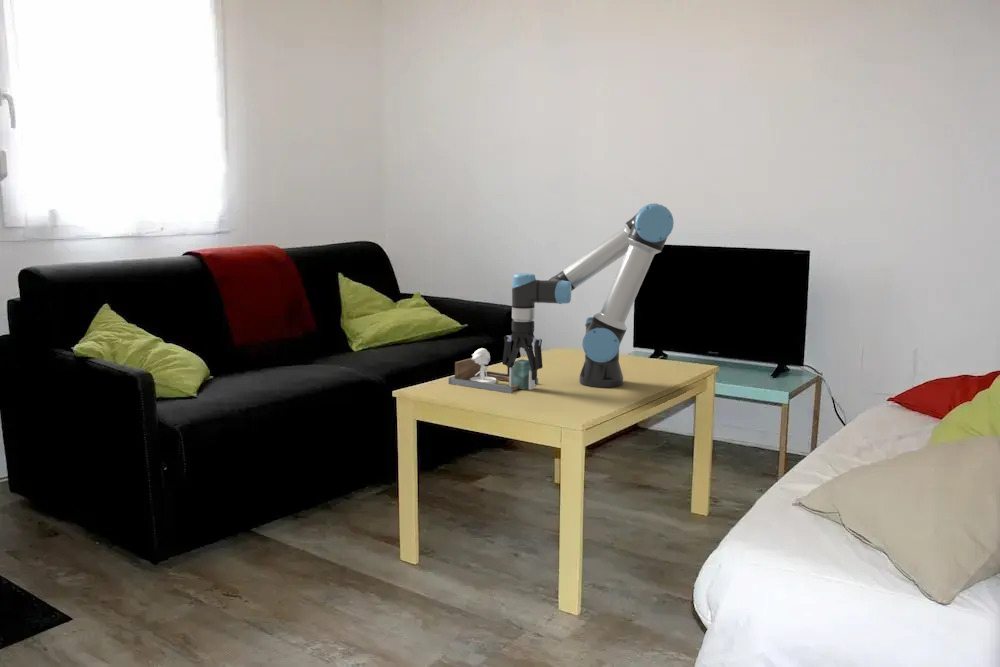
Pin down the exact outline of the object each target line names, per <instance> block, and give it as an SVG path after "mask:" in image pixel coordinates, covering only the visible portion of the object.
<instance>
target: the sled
mask: <svg viewBox="0 0 1000 667" xmlns="http://www.w3.org/2000/svg"><path fill="white" fill-rule="evenodd" d="M472 358H473V357H470V358H466V359H463V360H459V361H455V362H454V376H455V378H458V379H465V380H470V378H472V377H480V373H481V372H480V373H479V374H478V375H476V376H475V374H476V373H478V372H479V371H480V370H481V365H479V364H478V363H475V361H474V360H471V359H472ZM513 367H514V385H513V386H511V387H513V389H512V392H513V391H516V390H519V389H520V390H524V389H529V370H531V367H530V364H529V360H528V359H522V358H521V359H518V360H515V361H514V366H513ZM484 375H485V376H486V373H484ZM487 377H493V378H496V380H499V381H500V380H501V381H507V382H509V377H507V376H500V375H493V374H487ZM471 381H472V380H471ZM484 383H485V382H484ZM496 384H497V383H496ZM497 385H499V384H497ZM503 385H504V384H503ZM504 386H506V385H504Z"/></svg>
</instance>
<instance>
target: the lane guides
mask: <svg viewBox="0 0 1000 667" xmlns="http://www.w3.org/2000/svg"><path fill="white" fill-rule="evenodd" d="M484 373H486V372H484ZM487 374H493V375H500V376H507V377H509V376H508V375H507V373H506V372H505V373H504V372H503V373H502V372H498V371H497V372H496V371H489V370H487ZM448 384H449V385H456V386H460V387H461V386H462V387H468V388H476V389H480V390H487V391H488V390H489V391H494V392H498V393H499V392H501V393H507V394H513V391H512V389H513V387H511V386H509V385H505V386H504V384H503V385H502V384H498V385H497V383H495V384H491V383H484V382H478V381H471V380H470V379H469V380H465V379H458V378H455V375H454V376H450V377H448ZM536 385H539V378H538V377H537V379H536V380H535V386H536Z"/></svg>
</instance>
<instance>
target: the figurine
mask: <svg viewBox="0 0 1000 667" xmlns="http://www.w3.org/2000/svg"><path fill="white" fill-rule="evenodd" d="M471 356H472V357H471V358H472V359H471V360H474V361H475V363H478V364H479V365H481V370H480V371H479V372H478V373H476V374H475V376H476V375H478V374H479V373H480V372H481V373H480V377H472V378H470V379H469V380H472V381H478V382H485V383H491V384H497V379H496V378H493V377H487V371H488V367H487V366H488V364H489V362H490V361H491V355H490V352H489V351H488V350H487V348H483V347H481V348H478V349H477V350H475V351H474V353H472V354H471ZM484 372H486V376H485V375H484Z"/></svg>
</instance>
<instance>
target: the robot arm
mask: <svg viewBox="0 0 1000 667" xmlns="http://www.w3.org/2000/svg"><path fill="white" fill-rule="evenodd" d="M623 226H624V227H622V229H620V230H619V231H617V232H615V233H614V234H613V235H612V236H610V237H608V238H607V239H606V240H604V241H603V242H601V243H600V244H598V245H597V246H596V247H594V248H593V249H591V250H590V251H588V252H587V253H586V254H584V255H582V256H581V257H580V258H578V259H577V260H575V261H574V262H573V263H571V264H569V266H567V267H565V268H564V269H563V270H562V271H560V272H558V273H557V274H556V275H554V276H552V277H551V278H549V279H548V280H542V279H537V278H536V275H535V273H530V272H529V273H526V272H523V273H521V272H520V273H519V272H518V273H516V274H514V275H513V276H512V287H511V319H512V320H511V332H512V333H511V334H509V335H505V336H503V340H504V345H503V355H502V365H505V366H506V367H507V373H506V374H507V375H508V376H509V381H508V386H513V385H514V361H517V357H518V354H519V351H520V349H521V348H522V349H523V350H524V351H525V354H526V355H527V356H526V357H527V360H529V364H530V367H531V370H529V387H528V390H529V391H532V390H534V389H536V384H535V380H536V379H537V378H538V370H541V369H543V357H542V342H543V340H542V338H536V337H535V335H534V333H535V321H534V320H535V305H536V304H537V303H538V304H543V303H544V304H557V305H558V304H559V305H562V304H563V305H564V304H570V302H571V301H572V292H573V291H574V290H575V289H577V288H578V287H579V286H581V285H582V284H584V283H585V282H587V281H589V280H590V279H591V278H592V277H594V276H595V275H597V274H599V272H601V271H602V270H604V269H606V268H607V267H609V266H610V265H611V264H613V263H615V262H616V261H617V260H619V259H620V258H622V257H623V256H624V257H623V259H622V261H621V263H620V266H619V268H618V271H617V273H616V275H615V277H614V280H613V282H612V284H611V287H610V290H609V292H608V293H607V296H606V299H605V301H604V303H603V304H602V308H601V310H600V312H598V313H595V314H593V316H589V317H587V318H586V321H585V324H584V326H585V334H584V337H583V338H582V349H583V351H584V362H583V365H582V369H581V371H580V374H579V380H578V381H579V383H580V384H581V385H583V386H587V387H593V388H594V387H595V388H615V386H616V387H619V386H623V384H624V374H623V371H622V368H621V364H620V360H619V359H620V346H621V343H622V341H623V340H624V336H625V335H626V331H627V325H626V321H627V319H628V316H629V314H630V312H631V310H632V306H633V305H634V302H635V300H636V297H637V296H638V293H639V291H640V288H641V286H642V285H643V282H644V279H645V277H646V275H647V273H648V272H649V269H650V266H651V263H652V261H653V259H654V257H655V255H656V254H659V253H662V251H663V248H664V246H665V244H666V242H667V239H668V237H669V236H670V235H671V233H672V231H673V229H674V217H673V214H672V213H671V211H670V210H669V208H667V206H664V205H663V204H658V203H650V204H646V205H644V206H643V207H641V208H640V209H639V211H638V212H637V213H636V214H634V216H633V217H631V218H630V219H629V220H628V221H626V222H625V223H624V225H623ZM512 341H513V342H512ZM512 343H513V344H512ZM533 345H534V346H533ZM511 348H512V349H511Z"/></svg>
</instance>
